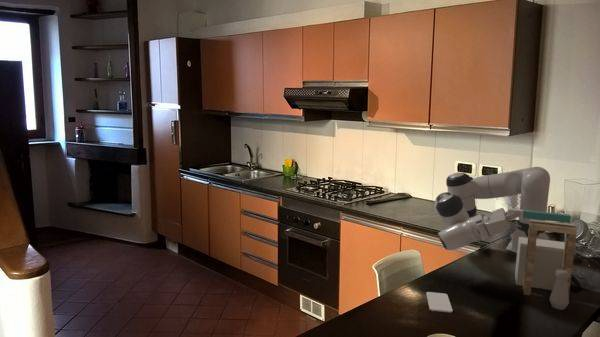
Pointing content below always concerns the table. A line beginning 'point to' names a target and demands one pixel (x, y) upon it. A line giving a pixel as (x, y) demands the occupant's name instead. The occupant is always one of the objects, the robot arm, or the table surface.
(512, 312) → the table surface
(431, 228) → the table surface
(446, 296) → the smartphone
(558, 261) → the white rectangular block
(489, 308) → the table surface
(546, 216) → the marker
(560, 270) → the salt shaker
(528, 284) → the wooden stand
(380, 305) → the table surface
